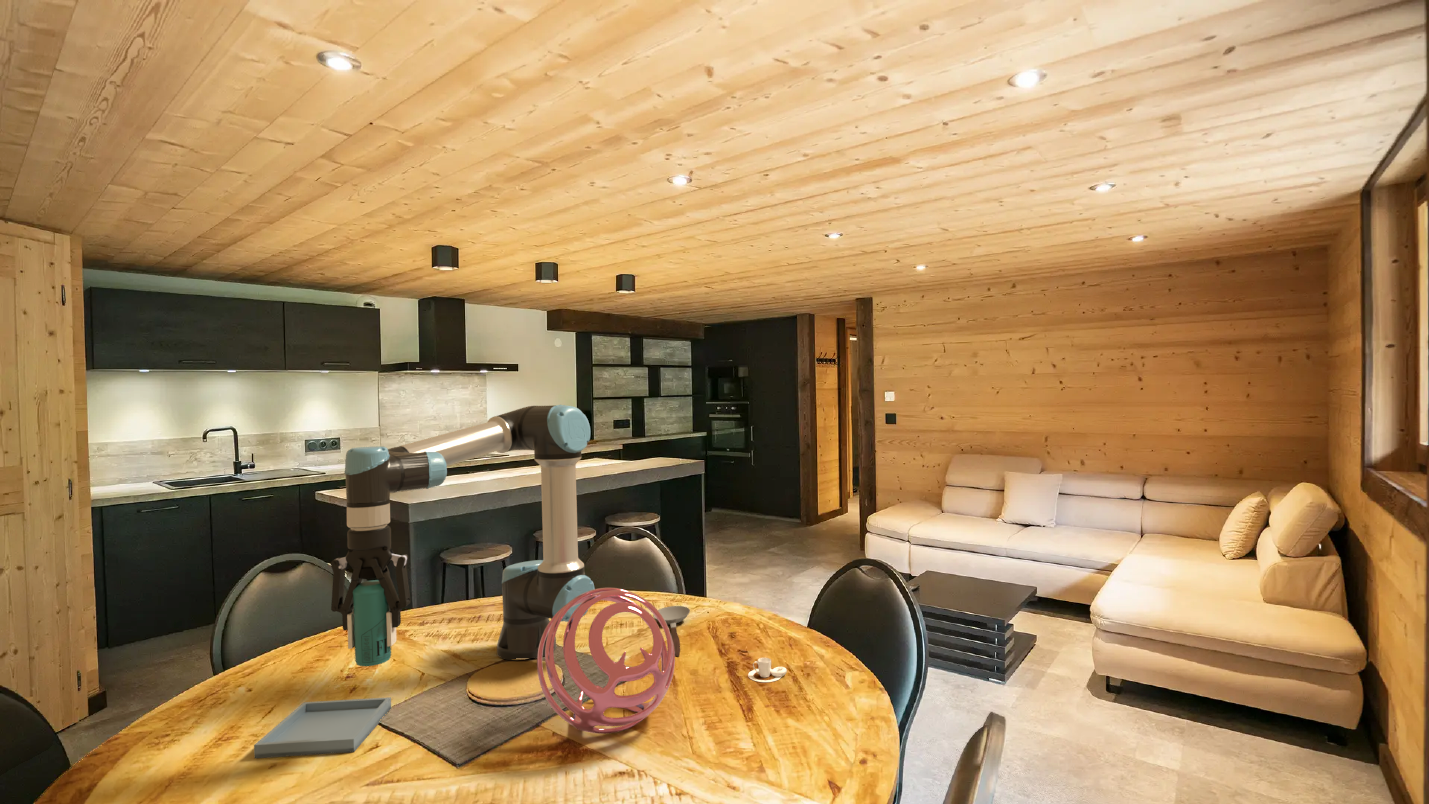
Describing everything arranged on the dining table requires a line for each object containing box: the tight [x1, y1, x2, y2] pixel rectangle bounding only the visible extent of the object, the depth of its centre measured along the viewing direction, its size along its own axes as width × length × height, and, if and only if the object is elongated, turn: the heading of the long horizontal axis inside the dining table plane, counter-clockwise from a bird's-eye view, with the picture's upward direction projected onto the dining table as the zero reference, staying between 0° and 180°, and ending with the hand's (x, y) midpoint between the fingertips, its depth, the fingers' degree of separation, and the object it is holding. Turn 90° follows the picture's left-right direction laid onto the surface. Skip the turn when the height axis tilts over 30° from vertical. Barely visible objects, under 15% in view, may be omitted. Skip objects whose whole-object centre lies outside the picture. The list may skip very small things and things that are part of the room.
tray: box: [253, 696, 392, 759], centre depth 137 cm, size 18×18×2 cm
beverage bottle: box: [353, 567, 393, 667], centre depth 132 cm, size 6×7×20 cm
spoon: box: [652, 605, 691, 658], centre depth 189 cm, size 11×33×3 cm, turn 6°
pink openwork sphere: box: [536, 587, 676, 735], centre depth 140 cm, size 28×28×27 cm
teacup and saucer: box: [747, 657, 788, 683], centre depth 160 cm, size 9×8×4 cm
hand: (372, 644), depth 132 cm, fingers closed on beverage bottle, 6 cm apart
